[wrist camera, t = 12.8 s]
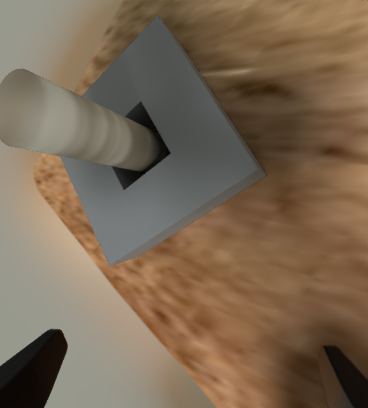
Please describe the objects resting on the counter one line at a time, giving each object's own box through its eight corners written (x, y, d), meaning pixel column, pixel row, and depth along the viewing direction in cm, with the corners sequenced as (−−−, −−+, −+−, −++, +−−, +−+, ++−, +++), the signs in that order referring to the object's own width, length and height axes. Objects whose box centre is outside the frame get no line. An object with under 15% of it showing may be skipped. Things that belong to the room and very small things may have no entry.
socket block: (266, 175, 20) (258, 169, 16) (137, 256, 25) (109, 265, 21) (180, 44, 23) (157, 14, 19) (82, 140, 28) (49, 131, 24)
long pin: (182, 144, 23) (51, 82, 11) (165, 181, 23) (25, 159, 12) (151, 129, 24) (6, 59, 12) (136, 164, 25) (-15, 129, 13)
